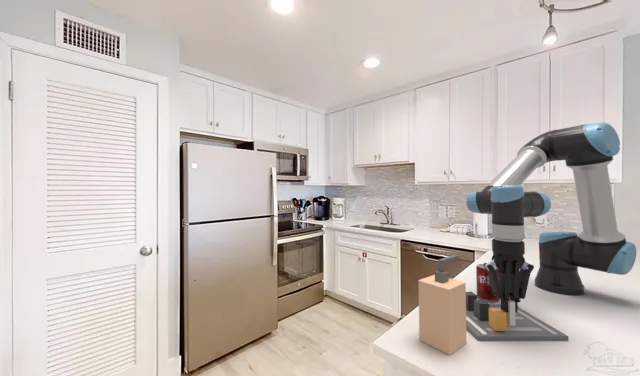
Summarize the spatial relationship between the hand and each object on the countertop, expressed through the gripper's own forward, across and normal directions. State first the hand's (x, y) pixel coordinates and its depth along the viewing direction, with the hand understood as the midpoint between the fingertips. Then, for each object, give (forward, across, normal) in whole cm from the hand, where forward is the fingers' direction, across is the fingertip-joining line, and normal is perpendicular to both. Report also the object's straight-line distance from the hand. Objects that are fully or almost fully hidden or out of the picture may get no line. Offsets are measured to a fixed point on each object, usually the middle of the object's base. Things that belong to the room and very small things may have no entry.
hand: (509, 323), depth 74 cm
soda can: (+3, -9, -25) cm, 26 cm away
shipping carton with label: (+2, +3, 0) cm, 4 cm away
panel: (+3, -1, -7) cm, 7 cm away
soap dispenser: (+3, +19, +2) cm, 19 cm away
